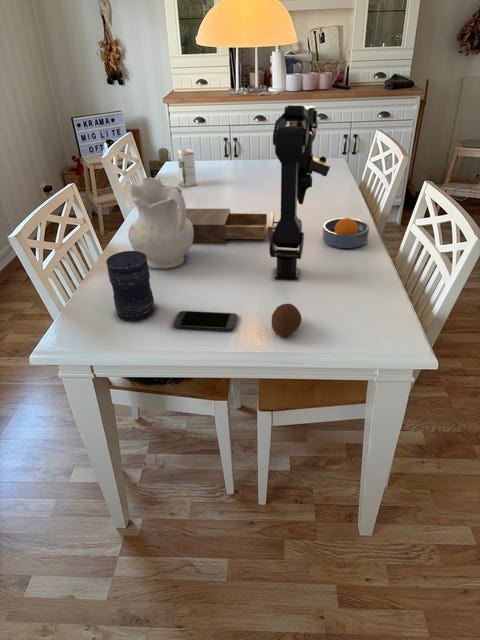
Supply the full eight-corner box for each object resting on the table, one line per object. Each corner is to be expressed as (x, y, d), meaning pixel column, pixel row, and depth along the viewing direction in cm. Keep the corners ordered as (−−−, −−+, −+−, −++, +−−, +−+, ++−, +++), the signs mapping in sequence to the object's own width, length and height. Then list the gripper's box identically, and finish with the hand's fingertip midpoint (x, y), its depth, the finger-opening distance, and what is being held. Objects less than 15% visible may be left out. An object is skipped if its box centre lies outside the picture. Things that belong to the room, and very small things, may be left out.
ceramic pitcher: (214, 260, 151) (211, 179, 139) (176, 282, 136) (169, 194, 124) (159, 247, 160) (152, 171, 148) (118, 267, 146) (107, 184, 134)
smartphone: (179, 312, 123) (179, 309, 123) (237, 315, 121) (237, 312, 121) (172, 329, 117) (171, 325, 117) (233, 332, 115) (233, 329, 115)
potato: (301, 318, 119) (302, 293, 115) (301, 342, 110) (302, 317, 107) (273, 317, 120) (273, 292, 116) (270, 341, 111) (270, 316, 108)
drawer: (286, 225, 167) (286, 211, 164) (285, 241, 156) (285, 227, 153) (224, 224, 170) (223, 211, 167) (218, 240, 158) (217, 226, 156)
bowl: (369, 250, 150) (371, 235, 147) (323, 249, 151) (324, 235, 149) (365, 232, 161) (366, 218, 159) (322, 232, 163) (322, 217, 160)
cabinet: (231, 226, 170) (230, 208, 167) (225, 243, 158) (224, 224, 155) (179, 226, 172) (177, 208, 169) (170, 243, 160) (167, 224, 157)
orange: (356, 247, 153) (360, 231, 147) (333, 246, 154) (335, 231, 148) (356, 229, 157) (359, 213, 151) (333, 228, 158) (335, 212, 151)
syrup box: (180, 183, 214) (176, 150, 206) (192, 181, 216) (189, 148, 208) (184, 187, 210) (180, 152, 202) (197, 184, 212) (194, 150, 204)
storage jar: (114, 306, 127) (103, 255, 119) (150, 298, 130) (142, 247, 122) (120, 325, 120) (108, 272, 111) (158, 316, 122) (150, 263, 114)
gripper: (330, 158, 138) (327, 211, 146) (328, 142, 153) (325, 191, 162) (291, 159, 139) (290, 211, 147) (293, 143, 154) (292, 191, 163)
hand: (301, 200), depth 155 cm, fingers open, 6 cm apart
